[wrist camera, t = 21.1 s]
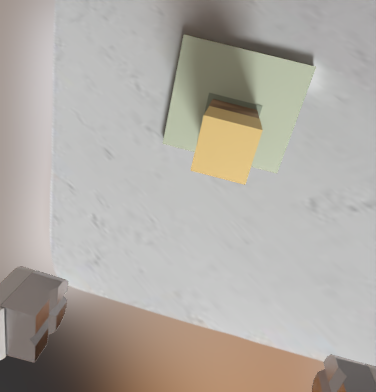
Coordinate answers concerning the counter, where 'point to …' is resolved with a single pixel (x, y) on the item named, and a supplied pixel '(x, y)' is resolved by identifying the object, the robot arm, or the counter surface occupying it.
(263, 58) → the plate
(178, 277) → the counter surface
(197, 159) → the ochre block
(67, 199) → the counter surface
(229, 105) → the walnut block
